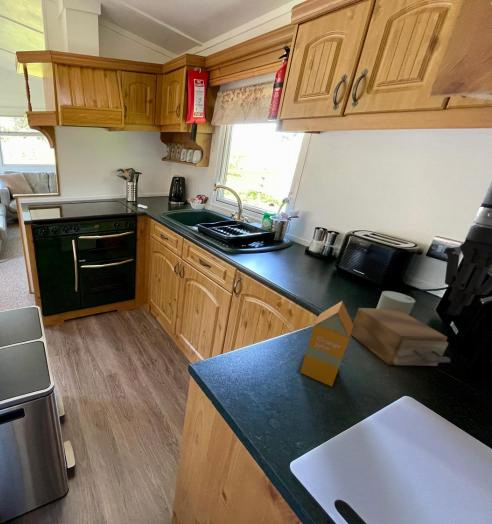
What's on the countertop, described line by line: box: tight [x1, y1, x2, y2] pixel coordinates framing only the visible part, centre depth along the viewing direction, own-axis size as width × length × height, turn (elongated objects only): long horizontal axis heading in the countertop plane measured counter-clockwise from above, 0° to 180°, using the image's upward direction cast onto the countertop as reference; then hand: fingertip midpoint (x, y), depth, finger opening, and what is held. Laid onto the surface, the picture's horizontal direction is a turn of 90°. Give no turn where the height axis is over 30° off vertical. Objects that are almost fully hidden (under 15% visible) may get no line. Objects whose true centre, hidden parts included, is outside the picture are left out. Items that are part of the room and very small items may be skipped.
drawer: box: [392, 339, 451, 367], centre depth 85 cm, size 19×13×8 cm
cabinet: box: [351, 307, 448, 366], centre depth 89 cm, size 16×14×10 cm
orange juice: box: [299, 300, 353, 388], centre depth 75 cm, size 8×9×20 cm
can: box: [375, 290, 416, 316], centre depth 102 cm, size 9×9×12 cm
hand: (452, 313), depth 77 cm, fingers closed
